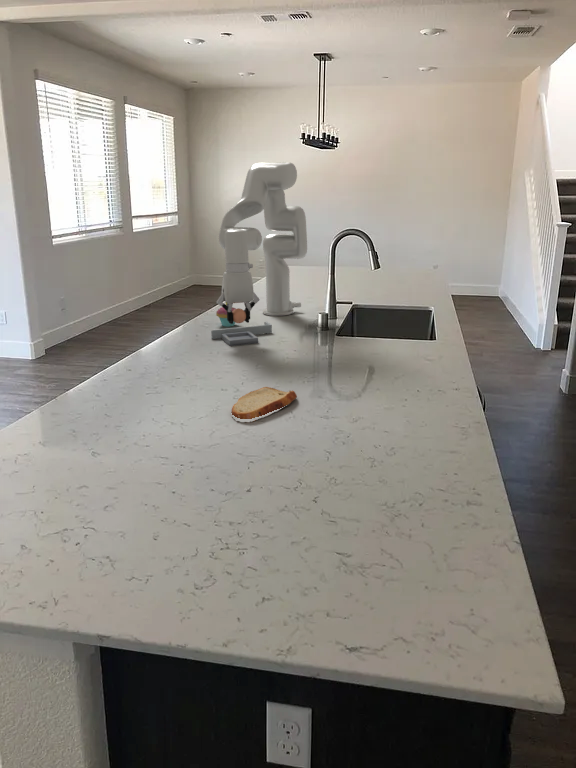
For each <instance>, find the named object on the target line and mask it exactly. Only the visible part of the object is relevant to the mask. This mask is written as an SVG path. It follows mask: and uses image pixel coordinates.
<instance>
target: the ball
mask: <svg viewBox="0 0 576 768" xmlns="http://www.w3.org/2000/svg"><path fill="white" fill-rule="evenodd" d="M244 310H245V309H242V308H240V307H239V308H236V309H235V310H234V311H233V321H234V322H235V324H242V323H244V322H246V321H245V319H246V313H245V311H244Z"/></svg>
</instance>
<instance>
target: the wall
mask: <svg viewBox="0 0 576 768" xmlns="http://www.w3.org/2000/svg"><path fill="white" fill-rule="evenodd" d="M263 323H264V324H261V325H251V326H239V327H228V328H219V329H218V328H217V329H211V330H210V335H211V336H210V338H211V340H214V339H215V340H217V339H222V335H221V334H227V333H238V332H248V331H249V332H251V333H252V334H257V335H264V334H263V333H267V334H272V333H273V326H272V323H269V322H268V321H263Z"/></svg>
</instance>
